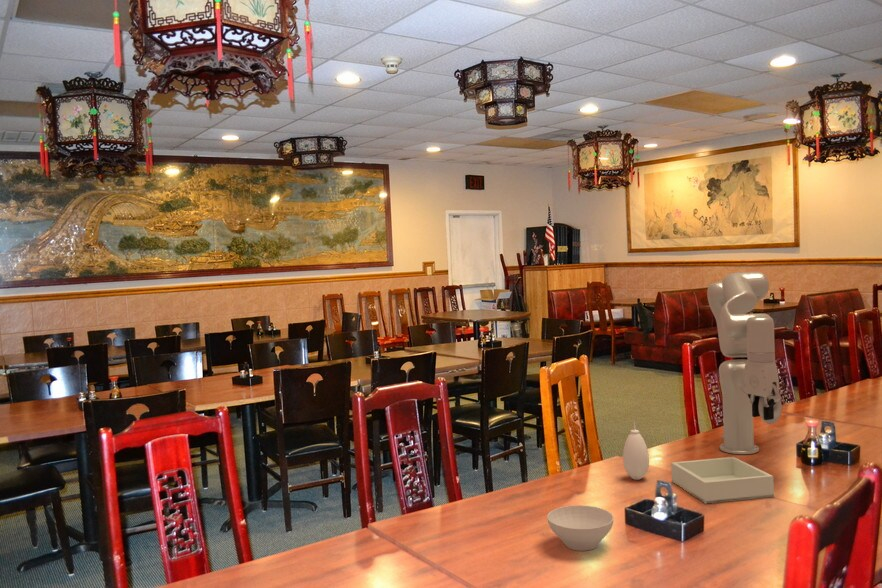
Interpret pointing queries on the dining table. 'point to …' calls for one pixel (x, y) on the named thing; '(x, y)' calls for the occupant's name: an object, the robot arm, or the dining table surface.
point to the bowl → (580, 525)
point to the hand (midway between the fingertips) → (762, 417)
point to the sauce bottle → (635, 455)
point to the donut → (776, 411)
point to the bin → (722, 480)
